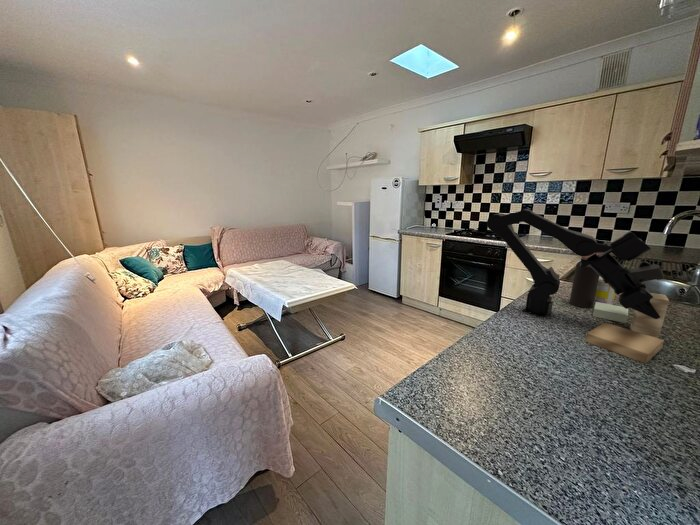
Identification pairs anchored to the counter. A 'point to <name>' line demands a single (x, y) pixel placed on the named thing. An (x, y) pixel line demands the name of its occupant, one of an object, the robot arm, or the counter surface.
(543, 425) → the counter surface
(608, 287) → the supplement bottle
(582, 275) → the vinegar
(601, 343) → the oak block
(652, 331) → the beech post
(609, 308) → the sage block
